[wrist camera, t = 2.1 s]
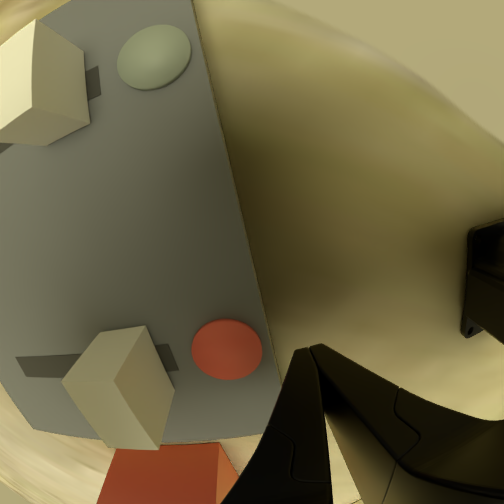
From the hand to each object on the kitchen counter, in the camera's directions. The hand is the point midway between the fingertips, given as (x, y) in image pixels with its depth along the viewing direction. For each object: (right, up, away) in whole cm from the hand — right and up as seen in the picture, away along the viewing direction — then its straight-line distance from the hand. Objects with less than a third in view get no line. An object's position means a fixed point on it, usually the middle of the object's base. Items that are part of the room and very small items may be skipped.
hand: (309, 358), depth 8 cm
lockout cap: (-6, -12, +7) cm, 16 cm away
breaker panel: (-10, +4, +3) cm, 11 cm away
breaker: (-8, +9, -1) cm, 12 cm away
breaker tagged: (-6, -1, +2) cm, 6 cm away
